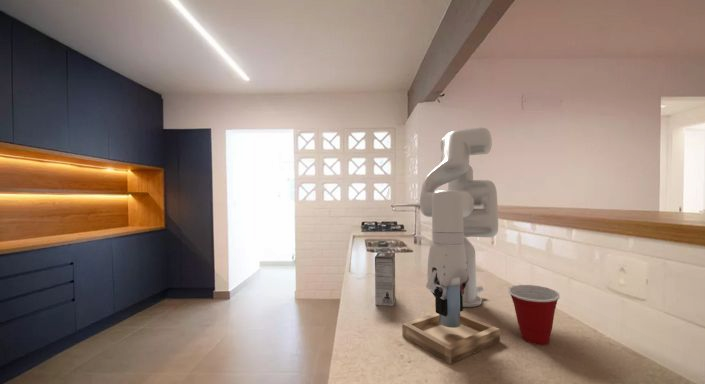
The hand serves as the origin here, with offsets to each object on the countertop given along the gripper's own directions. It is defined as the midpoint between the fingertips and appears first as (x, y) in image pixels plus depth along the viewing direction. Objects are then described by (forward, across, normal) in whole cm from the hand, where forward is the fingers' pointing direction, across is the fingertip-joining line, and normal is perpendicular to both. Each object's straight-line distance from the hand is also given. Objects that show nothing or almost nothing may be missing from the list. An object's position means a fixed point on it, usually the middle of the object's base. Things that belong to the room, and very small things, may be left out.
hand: (449, 311), depth 69 cm
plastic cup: (+7, -17, +11) cm, 22 cm away
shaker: (+3, 0, 0) cm, 3 cm away
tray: (+7, 0, 0) cm, 7 cm away
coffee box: (+7, -3, -30) cm, 31 cm away
